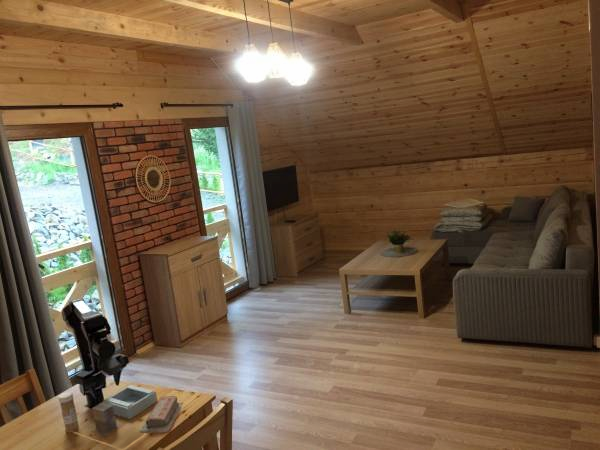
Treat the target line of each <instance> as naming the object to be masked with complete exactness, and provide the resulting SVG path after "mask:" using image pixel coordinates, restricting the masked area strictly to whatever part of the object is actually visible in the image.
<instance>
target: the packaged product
mask: <svg viewBox="0 0 600 450" xmlns="http://www.w3.org/2000/svg"><path fill="white" fill-rule="evenodd" d="M183 404H184V402H178V397H177V396H175V395H168V396H167V395H166V396H161V397H160V398H159V399H158V400H157V402H156V404H155V405H154V407H153V409H152V410H151V412H150V413H149V415H148V416H147V418H146V420H145V422H144V424H143V425H142V427H141V428H140V429H139V433H145V434H154V433H156V434H157V433H158V434H159V433H167V432H168V433H169V432H170V430H171V427H172V425H173V423H174V422H175V420H176V419H177V417H178V415H179V413H180V411H181V408H182V405H183Z"/></svg>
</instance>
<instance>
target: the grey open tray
mask: <svg viewBox="0 0 600 450" xmlns="http://www.w3.org/2000/svg"><path fill="white" fill-rule="evenodd" d="M102 402H103V403H105V404H109V405H113V409H114V414H115V416H118V417H122V418H124V419H128V420H130V419H133V418H134V417H135V416H137V415H138V414H140V413H142V412H143V411H144V410H146V409H148V408H149V407H151V406H152V405H154V404H155V403H156V404H157V403H158V396H157V391H156V390H152V389H148V388H145V387H140V386H137V385H133V384H129V385H128V386H126V387H125V388H123V389H121V390H119V391H118V392H116V393H115V394H113V395H111V396H108V397H107V398H104V401H102Z"/></svg>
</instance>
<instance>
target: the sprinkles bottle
mask: <svg viewBox="0 0 600 450" xmlns="http://www.w3.org/2000/svg"><path fill="white" fill-rule="evenodd" d="M58 402H59V403H60V408H61V414H62V419H63V423H64V427H65V432H66V433H67V434H68V433H73V432H74V433H75V431H76V430H78V428H79V427H80V425H79V422H78V421H79V420H78V416H77V410H76V406H75V402H74V394H73V392H72V391H65V392H63V393H61V394H60V395H58Z"/></svg>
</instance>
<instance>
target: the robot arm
mask: <svg viewBox="0 0 600 450" xmlns="http://www.w3.org/2000/svg"><path fill="white" fill-rule="evenodd" d="M61 318H62V320H63V322H65V325H66V326H67V328H69V329H70V330H71V331H72V333H73V337H74V342H75V343H76V348H77V352H78V355H79V359H80V362H81V367H82V368H81V372H78V373H76V374H75V375H74V376H73V381H74V384H77V385H79V386H78V388H79V392H80V393H81V395H82V396H84V397H85V398H86V399H85V400H86V404H85V405H84V406H83V407H85V408H89V409H91V410H92V408H93V407H95V406H97V405H98V404H100V403H103V402H102V401H104V400H105V396H104V392H103V389H106V388H107V376H112V377H113V381H114V383H115V385H116V386H120V381H121V380H120V379H121V377H122V376H121V375H122V372H123V370H124V368H126V367H127V366H128V364H129V363H130V358H129V356H128V355H126V354H122V353H117V354H115V352H116V345H115V344H114V343H113V342H112V341H111V340H110V339H108V335H111V334H112V332H111V329H112V328H111V326H110V323H109V321H108V319H107V318H106V316H105V315H103V314H102V313H101V312H99V311H93V310H92V309H91V308H90V306H88V305H87V303H86V301H85V299H84V298H77V299H74V300H73V299H72V300H70V301H69V302H68V304H67V305H66V306H65V307H63V309H62V311H61ZM104 373H106V374H107V376H106V375H105V374H104Z"/></svg>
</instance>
